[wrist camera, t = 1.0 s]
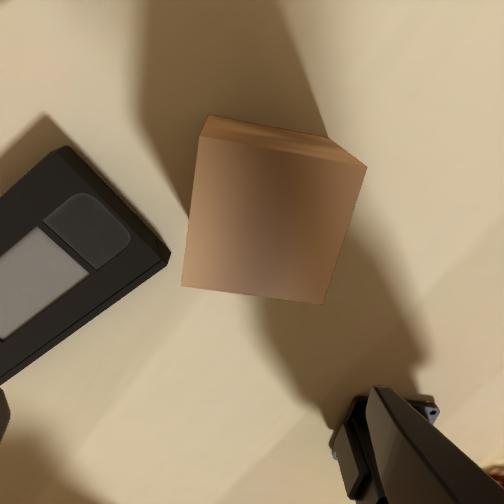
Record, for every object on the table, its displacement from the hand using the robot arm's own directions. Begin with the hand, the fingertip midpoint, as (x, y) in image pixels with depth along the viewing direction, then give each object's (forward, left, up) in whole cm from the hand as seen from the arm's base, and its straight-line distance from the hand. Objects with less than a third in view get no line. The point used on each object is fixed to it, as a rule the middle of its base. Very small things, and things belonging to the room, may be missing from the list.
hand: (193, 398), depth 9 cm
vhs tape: (+10, +5, -13) cm, 17 cm away
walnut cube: (-2, -2, -12) cm, 13 cm away
